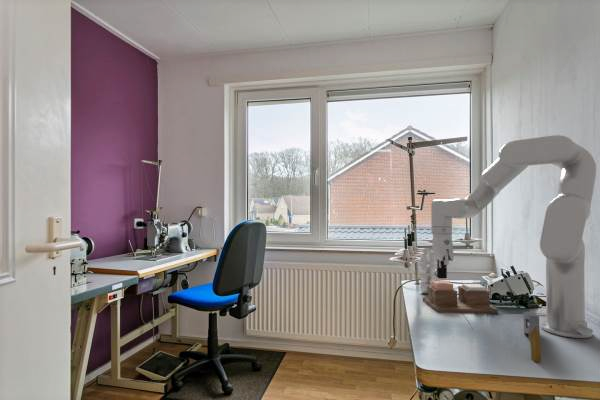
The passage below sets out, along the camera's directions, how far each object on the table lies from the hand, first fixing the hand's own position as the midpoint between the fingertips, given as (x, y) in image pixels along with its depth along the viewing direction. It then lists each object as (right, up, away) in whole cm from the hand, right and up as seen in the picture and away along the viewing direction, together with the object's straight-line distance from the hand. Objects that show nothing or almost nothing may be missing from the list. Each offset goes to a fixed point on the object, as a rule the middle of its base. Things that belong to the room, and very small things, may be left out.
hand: (441, 277), depth 134 cm
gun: (+10, -11, -37) cm, 40 cm away
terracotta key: (0, -7, 0) cm, 7 cm away
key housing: (+6, -11, -1) cm, 13 cm away
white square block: (+12, -8, -1) cm, 14 cm away
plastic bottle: (+2, -12, +20) cm, 23 cm away
